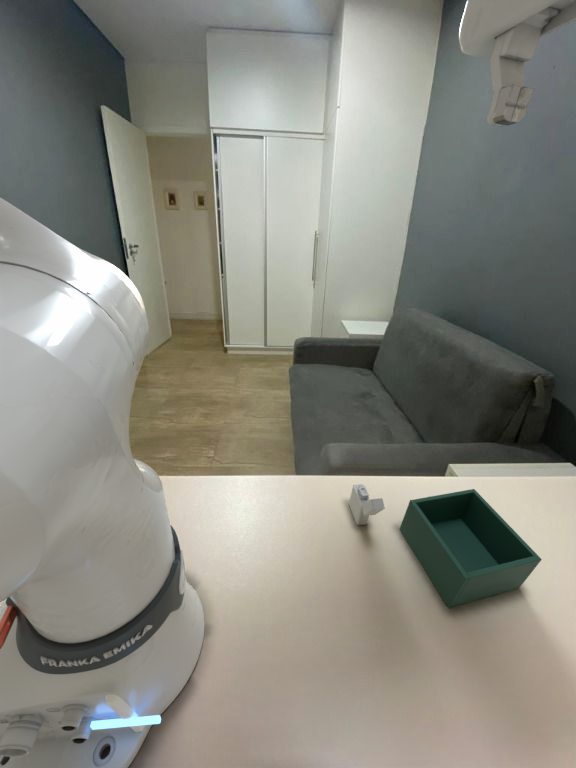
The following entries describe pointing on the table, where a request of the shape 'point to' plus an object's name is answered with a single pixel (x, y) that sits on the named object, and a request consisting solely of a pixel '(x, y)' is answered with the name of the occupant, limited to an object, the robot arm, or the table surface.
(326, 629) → the table surface
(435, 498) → the bin
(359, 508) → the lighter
